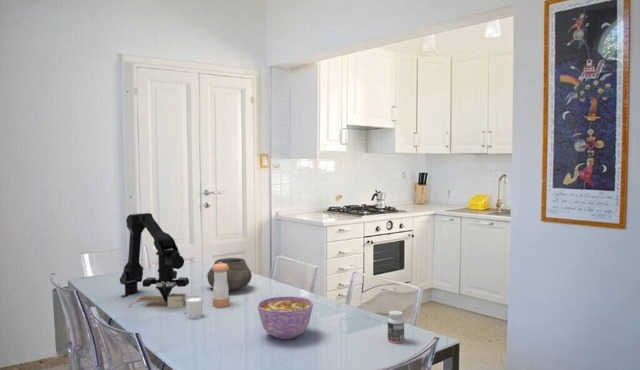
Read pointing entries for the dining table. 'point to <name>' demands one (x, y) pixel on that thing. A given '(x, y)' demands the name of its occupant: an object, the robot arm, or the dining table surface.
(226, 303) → the salt shaker
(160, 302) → the trap deck
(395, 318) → the pill bottle
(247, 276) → the clay pot
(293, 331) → the bowl of food
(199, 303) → the white cylinder
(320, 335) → the dining table surface
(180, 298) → the birch block
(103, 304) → the dining table surface
